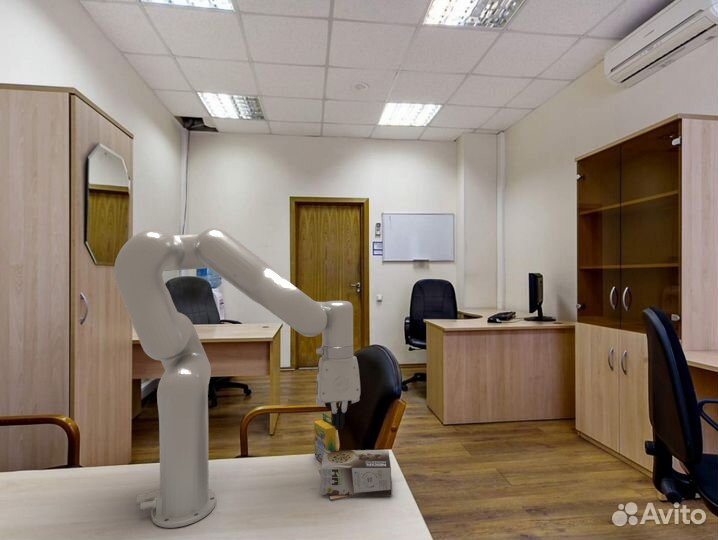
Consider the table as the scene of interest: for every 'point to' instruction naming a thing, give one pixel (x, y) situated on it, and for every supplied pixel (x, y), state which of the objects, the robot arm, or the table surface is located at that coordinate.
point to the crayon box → (324, 437)
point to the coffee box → (356, 472)
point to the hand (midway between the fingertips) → (338, 427)
